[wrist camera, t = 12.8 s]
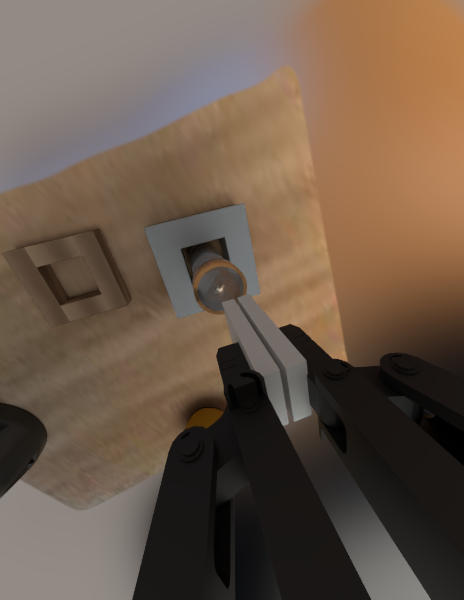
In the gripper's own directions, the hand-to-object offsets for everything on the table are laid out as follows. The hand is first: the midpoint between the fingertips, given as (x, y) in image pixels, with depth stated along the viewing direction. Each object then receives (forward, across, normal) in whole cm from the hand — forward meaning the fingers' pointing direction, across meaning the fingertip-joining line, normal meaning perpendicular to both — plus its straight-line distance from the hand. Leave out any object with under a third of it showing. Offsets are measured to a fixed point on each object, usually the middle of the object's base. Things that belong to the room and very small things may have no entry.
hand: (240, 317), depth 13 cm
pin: (+20, 0, 0) cm, 20 cm away
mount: (+20, -17, +2) cm, 27 cm away
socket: (+20, 0, 0) cm, 20 cm away
